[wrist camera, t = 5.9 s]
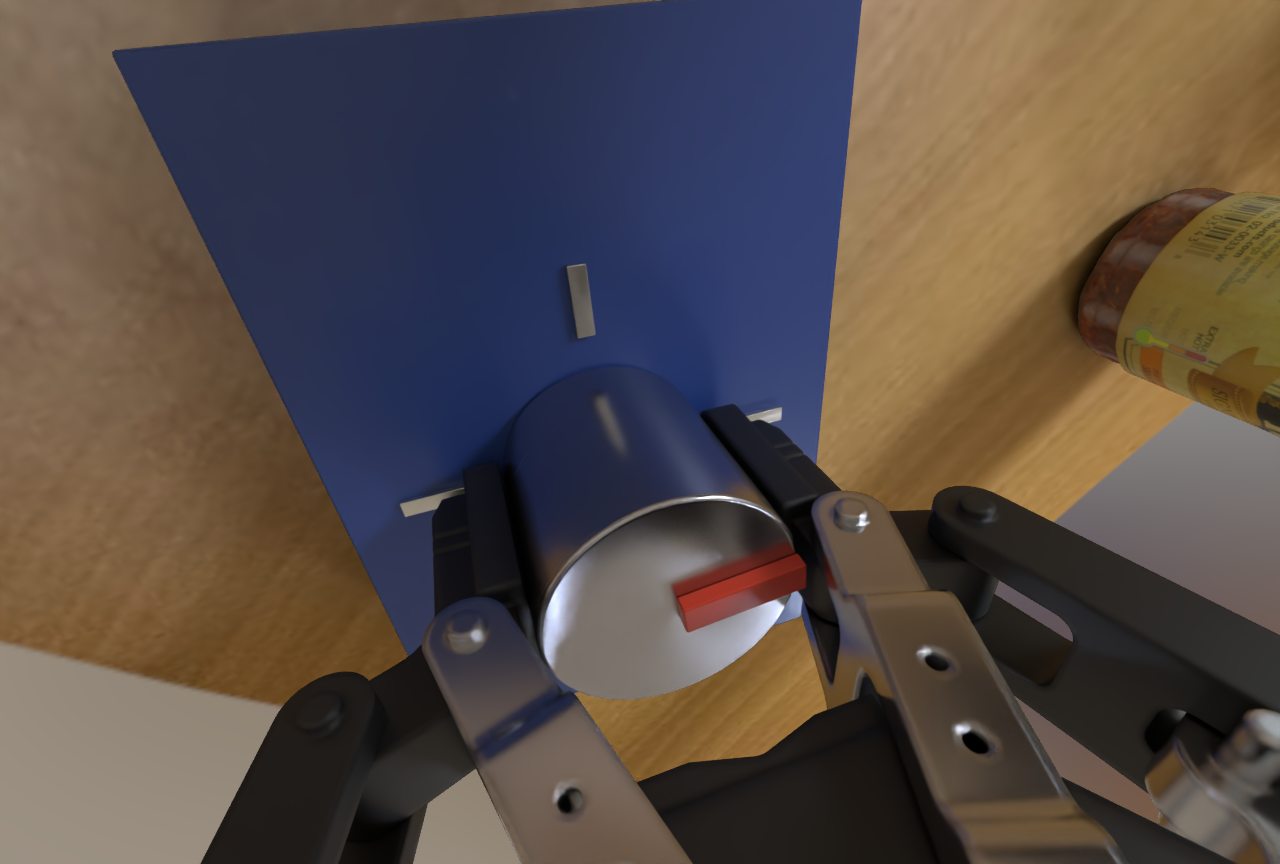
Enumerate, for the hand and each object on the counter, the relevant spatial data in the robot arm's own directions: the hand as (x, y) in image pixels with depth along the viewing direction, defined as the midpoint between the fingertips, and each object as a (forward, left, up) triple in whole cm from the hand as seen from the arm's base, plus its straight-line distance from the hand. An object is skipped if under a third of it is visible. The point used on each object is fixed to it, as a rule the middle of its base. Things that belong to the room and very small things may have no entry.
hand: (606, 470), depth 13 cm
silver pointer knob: (0, 0, 0) cm, 0 cm away
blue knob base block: (0, 0, -4) cm, 4 cm away
